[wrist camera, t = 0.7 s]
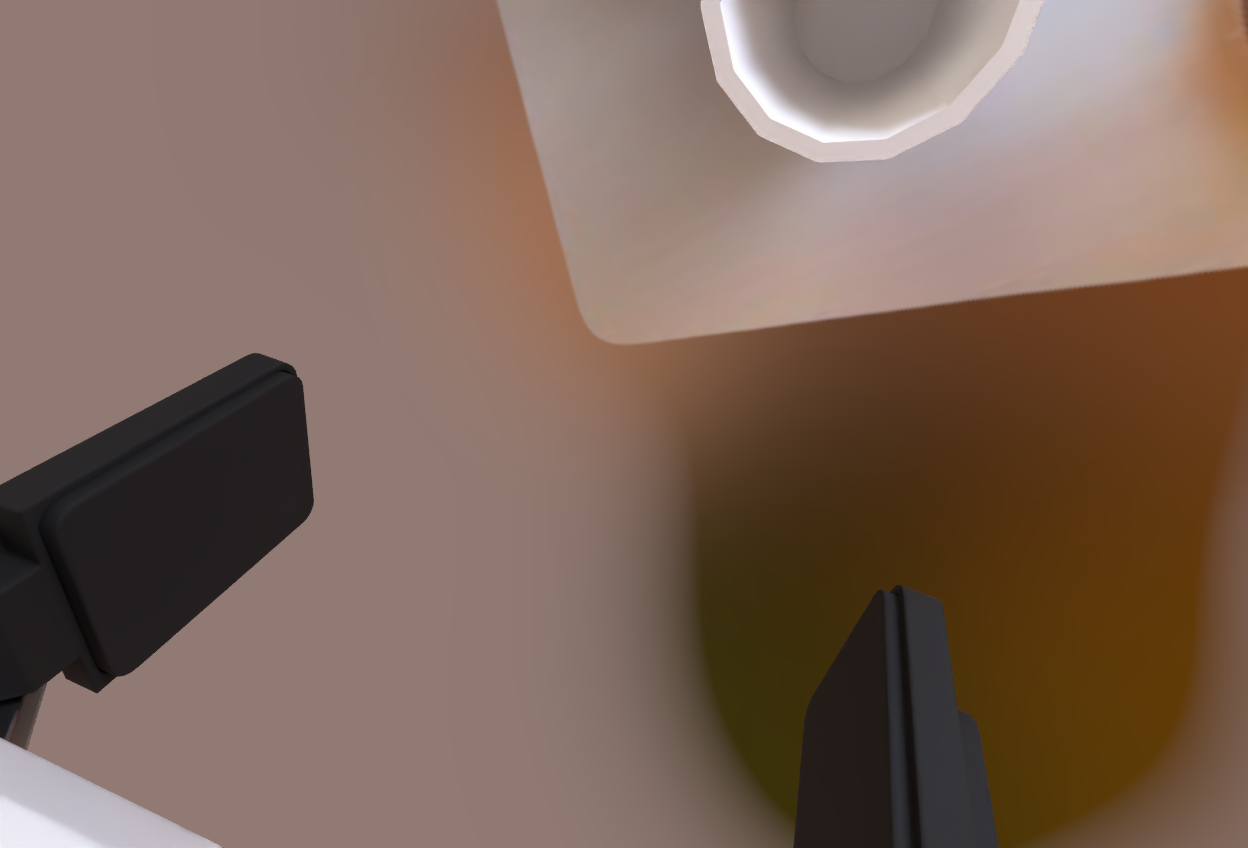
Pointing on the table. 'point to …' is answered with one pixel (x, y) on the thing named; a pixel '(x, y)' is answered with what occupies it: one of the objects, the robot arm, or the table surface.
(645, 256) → the table surface
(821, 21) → the foam cup
